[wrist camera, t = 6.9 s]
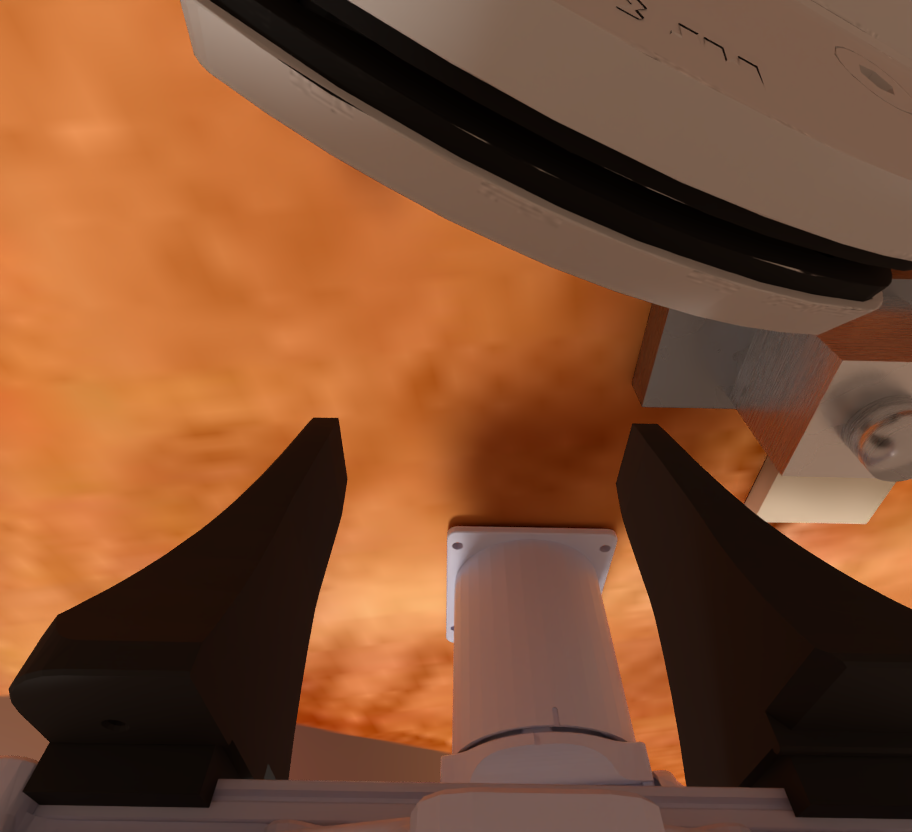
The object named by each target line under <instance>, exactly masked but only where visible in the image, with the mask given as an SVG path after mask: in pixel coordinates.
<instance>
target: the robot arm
mask: <svg viewBox="0 0 912 832" xmlns="http://www.w3.org/2000/svg"><path fill="white" fill-rule="evenodd" d="M346 485H347V473H346V466H345V460H344V453H343V446H342V439H341V432H340V425H339V419H338V418H313V419H312V420H311V421H310V422H309V423H308V424H307V425H306V426H305V427H304V429H303V430H302V431H301V432H300V433H299V434H298V436H297V437H296V438H295V439H294V440H293V441H292V443H291V444H290V445H289V446H288V447H287V448H286V449H285V451H284V452H283V453H282V454H281V455H280V456H279V457H278V458H277V459H276V460H275V461H274V463H273V464H272V465H271V466H270V467H269V468H268V469H267V470H266V471H265V472H264V473H263V474H262V475H261V476H260V477H259V478H258V479H257V480H256V481H255V482H254V483H253V484H252V485H251V486H250V487H249V488H248V489H247V490H246V491H245V492H244V493H243V494H242V495H241V496H240V497H239V498H238V499H237V500H236V501H234V502H233V503H232V504H231V505H230V506H229V507H228V508H227V509H225V510H224V511H223V512H222V513H221V514H220V515H218V516H217V517H216V518H215V519H213V520H212V521H211V522H210V523H209V524H207V525H206V526H205V527H204V528H202V529H201V530H200V531H198V532H197V533H195V534H194V535H193V536H191V537H190V538H188V539H187V540H185V541H184V542H183V543H181V544H180V545H178V546H177V547H176V548H174V549H173V550H171V551H170V552H169V553H167V554H166V555H164V556H163V557H161V558H160V559H158V560H156V561H155V562H153V563H152V564H150V565H148V566H147V567H145V568H144V569H142V570H140V571H139V572H137V573H135V574H134V575H132V576H130V577H128V578H127V579H125V580H123V581H122V582H120V583H118V584H116V585H115V586H113V587H111V588H109V589H107V590H105V591H103V592H102V593H100V594H98V595H96V596H94V597H92V598H90V599H88V600H86V601H84V602H82V603H80V604H79V605H77V606H75V607H73V608H71V609H69V610H67V611H65V612H63V613H61V614H59V615H57V617H56V618H55V619H54V621H53V622H52V623H51V625H50V626H49V628H48V629H47V630H46V632H45V633H44V634H43V636H42V637H41V639H40V640H39V642H38V644H37V645H36V647H35V648H34V650H33V651H32V653H31V654H30V656H29V658H28V659H27V661H26V662H25V664H24V665H23V667H22V668H21V670H20V671H19V673H18V675H17V676H16V678H15V679H14V681H13V682H12V684H11V686H10V688H9V694H10V699H11V702H12V704H13V705H14V706H15V708H16V709H17V710H18V712H19V713H20V714H21V715H22V716H23V717H24V718H25V719H26V720H27V721H29V723H30V724H32V725H33V726H34V727H35V728H36V729H37V730H38V731H39V732H40V733H41V734H42V735H43V736H44V737H45V738H46V739H47V740H48V741H49V742H50V743H49V745H48V746H47V748H46V750H45V752H44V754H43V755H42V757H41V759H40V761H39V762H37V761H36V760H33V759H30V758H26V757H20V756H0V832H912V609H910V608H908V607H906V606H904V605H902V604H900V603H898V602H896V601H894V600H892V599H890V598H888V597H886V596H884V595H882V594H880V593H879V592H877V591H875V590H873V589H871V588H869V587H867V586H866V585H864V584H862V583H860V582H858V581H856V580H855V579H853V578H851V577H849V576H848V575H846V574H844V573H843V572H841V571H839V570H837V569H836V568H834V567H832V566H831V565H829V564H828V563H826V562H824V561H823V560H821V559H820V558H818V557H816V556H815V555H813V554H812V553H810V552H808V551H807V550H805V549H804V548H802V547H801V546H799V545H798V544H796V543H795V542H793V541H792V540H790V539H789V538H788V537H786V536H785V535H783V534H782V533H781V532H779V531H778V530H777V529H775V528H774V527H772V526H771V525H770V524H768V523H767V522H766V521H764V520H763V519H762V518H760V517H759V516H758V515H756V514H755V513H754V512H753V511H751V510H750V509H749V508H748V507H747V506H745V505H744V504H743V503H742V502H741V501H739V500H738V499H737V498H736V497H735V496H733V495H732V494H731V493H730V492H729V491H728V490H726V489H725V488H724V487H723V486H722V485H721V484H720V483H719V482H717V481H716V480H715V479H714V478H713V477H712V476H711V475H710V474H709V473H708V472H707V471H706V470H704V469H703V468H702V467H701V466H700V465H699V464H698V463H697V462H696V461H695V460H694V459H693V458H692V457H691V456H690V455H689V454H688V453H687V452H686V451H685V450H684V449H683V448H682V447H681V446H680V445H679V444H678V443H677V442H676V441H675V440H674V439H673V438H672V437H671V436H670V435H669V434H668V433H666V432H665V431H664V430H663V429H662V428H661V427H660V426H659V425H658V424H632V427H631V431H630V434H629V438H628V441H627V445H626V449H625V452H624V456H623V460H622V463H621V467H620V471H619V474H618V478H617V482H616V487H617V492H618V498H619V504H620V509H621V513H622V518H623V522H624V525H625V528H626V531H627V534H628V537H629V540H630V543H631V546H632V549H633V552H634V555H635V558H636V561H637V564H638V567H639V570H640V572H641V575H642V578H643V581H644V584H645V587H646V590H647V593H648V596H649V599H650V602H651V605H652V609H653V612H654V616H655V620H656V624H657V629H658V633H659V637H660V642H661V646H662V651H663V655H664V660H665V665H666V670H667V675H668V680H669V685H670V690H671V695H672V700H673V706H674V712H675V717H676V723H677V728H678V734H679V740H680V746H681V753H682V759H683V766H684V773H685V779H686V786H687V787H684V786H683V785H682V784H681V783H679V782H678V781H677V780H676V778H675V777H674V776H673V774H671V773H670V772H669V771H666V770H660V771H653V772H652V771H651V767H650V763H649V759H648V755H647V751H646V747H645V744H644V743H643V742H636V741H635V736H634V732H633V728H632V724H631V719H630V715H629V711H628V706H627V702H626V698H625V694H624V689H623V685H622V681H621V677H620V672H619V668H618V664H617V660H616V655H615V651H614V647H613V643H612V638H611V634H610V630H609V626H608V621H607V617H606V613H605V609H604V604H603V600H602V596H601V594H602V591H603V588H604V584H605V581H606V578H607V574H608V571H609V568H610V564H611V561H612V558H613V554H614V551H615V548H616V544H617V535H616V533H615V531H613V530H611V529H589V528H535V527H481V526H454V527H452V528H450V529H449V530H448V533H447V609H446V638H447V640H448V641H450V642H454V665H453V737H452V755H443V756H442V757H441V776H440V782H379V781H378V782H377V781H319V780H288V778H289V771H290V763H291V755H292V748H293V741H294V733H295V726H296V720H297V713H298V706H299V700H300V693H301V686H302V681H303V675H304V669H305V663H306V657H307V651H308V645H309V639H310V634H311V629H312V623H313V618H314V612H315V608H316V604H317V600H318V595H319V592H320V588H321V585H322V581H323V578H324V575H325V571H326V568H327V564H328V561H329V558H330V554H331V551H332V547H333V544H334V540H335V537H336V534H337V530H338V527H339V523H340V519H341V516H342V510H343V504H344V498H345V491H346ZM456 542H459V543H456ZM603 545H604V546H603Z"/></svg>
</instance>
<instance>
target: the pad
mask: <svg viewBox="0 0 912 832" xmlns="http://www.w3.org/2000/svg"><path fill="white" fill-rule="evenodd" d="M895 483H896V482H889V481H882V480H879V479H877V478H844V477H799V476H781V475H780V473H779V472H778V470H777V469H776V467H775V466H774V464H773V463H772V461H771V460H770V458H769V457H767V459H766V461H765V463H764V465H763V467H762V469H761V471H760V473H759V475H758V477H757V479H756V481H755V483H754V485H753V487H752V489H751V491H750V494H749V496H748V498H747V500H746V502H745V504H744V505H745V506H747V507H748V508H749V509H750V510H751V511H753V512H754V513H755V514H756V515H758V516H759V517H760V518H762V519H763V520H764V521H766V522H790V523H844V524H867V522H868V521H869V520H870V518H871V517H872V515H873V514H874V512H875V511H876V510H877V508H878V507H879V505H880V504H881V503H882V501H883V500H884V498H885V497H886V495H887V494H888V493H889V491H890V490H891V488H892V487H893V485H894V484H895Z"/></svg>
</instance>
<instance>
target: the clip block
mask: <svg viewBox="0 0 912 832" xmlns="http://www.w3.org/2000/svg"><path fill="white" fill-rule="evenodd" d="M729 399H730V401H731V402H732V404H733V405H734V407H735V408H736V410H737V411H738V412H739V414H740V415H741V417H742V418H743V420H744V421H745V423H746V424H747V426H748V427H749V429H750V430H751V432H752V433H753V435H754V436H755V438H756V439H757V441H758V442H759V443H760V445H761V446H762V448H763V449H764V451H765V452H766V454H767V455H768V457H769V458H770V460H771V461H772V463H773V464H774V466H775V467H776V469H777V470H778V472H779V473H780V475H781V476H799V477H844V478H877V479H879V480H882V481H889V482H896V481H904V480H908V479H912V305H911V304H910V303H908V302H907V301H905V300H904V299H902V298H901V297H899V296H883V302H882V305H881V306H880V307H879V308H878V309H877V310H875V311H872V312H870V313H868V314H865V315H863V316H861V317H858V318H856V319H854V320H851V321H849V322H847V323H844V324H842V325H840V326H837V327H835V328H833V329H830V330H828V331H826V332H823V333H821V334H819V335H812V334H798V333H785V332H776V331H770V330H763V329H756V331H755V334H754V336H753V339H752V341H751V344H750V346H749V349H748V351H747V354H746V356H745V359H744V361H743V364H742V366H741V369H740V371H739V374H738V376H737V379H736V381H735V384H734V386H733V389H732V391H731V394H730V396H729Z"/></svg>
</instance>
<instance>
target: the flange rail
mask: <svg viewBox="0 0 912 832" xmlns="http://www.w3.org/2000/svg"><path fill="white" fill-rule="evenodd" d="M891 272H892V282H891V284H890V285H889V286H888V287H886V288H885V289H884V290H882V292H883V296H899V297H901V298H902V299H904V300H905V301H907V302H908V303H910V304H911V305H912V270H908V271H900V270H895V269H891ZM756 329H757V328H750V327H744V326H738V325H734V324H729V323H725V322H720V321H716V320H712V319H707V318H703V317H698V316H694V315H691V314H688V313H684V312H681V311H677V310H674V309H671V308H667V307H664V306H660V305H657V304H654V303H652V307H651V310H650V314H649V318H648V322H647V326H646V330H645V334H644V338H643V342H642V346H641V350H640V353H639V357H638V361H637V365H636V369H635V373H634V377H633V381H632V385H633V388H634V390H635V392H636V394H637V397H638V399H639V401H640V403H641V406H642V407H671V408H724V409H736V408H735V407H734V405H733V404H732V402H731V401H730V399H729V396H730V394H731V391H732V389H733V386H734V384H735V381H736V379H737V376H738V374H739V371H740V369H741V366H742V364H743V361H744V359H745V356H746V354H747V351H748V349H749V346H750V344H751V341H752V339H753V336H754V334H755V331H756Z"/></svg>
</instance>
